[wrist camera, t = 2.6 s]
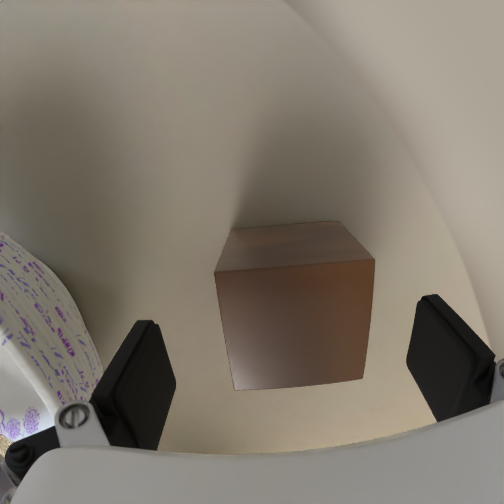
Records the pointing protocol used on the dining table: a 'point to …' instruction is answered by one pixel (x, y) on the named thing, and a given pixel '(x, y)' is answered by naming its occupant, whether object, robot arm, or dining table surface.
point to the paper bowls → (39, 345)
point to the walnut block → (295, 305)
